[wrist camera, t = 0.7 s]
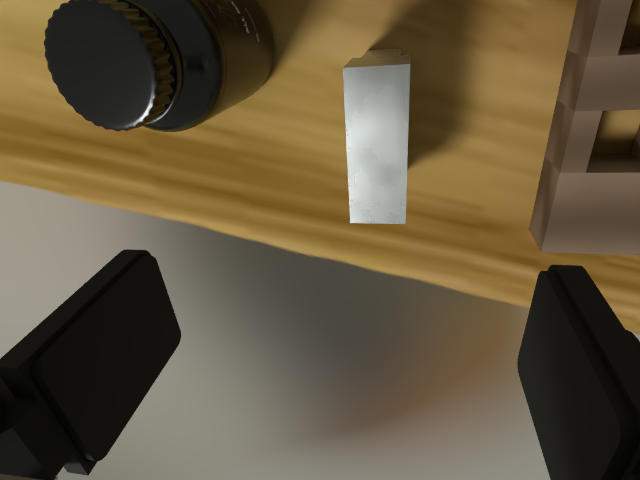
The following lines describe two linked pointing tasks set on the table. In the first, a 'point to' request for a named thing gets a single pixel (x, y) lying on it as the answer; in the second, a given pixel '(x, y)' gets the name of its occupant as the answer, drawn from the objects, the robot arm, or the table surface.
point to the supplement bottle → (157, 59)
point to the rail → (591, 142)
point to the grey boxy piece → (377, 135)
